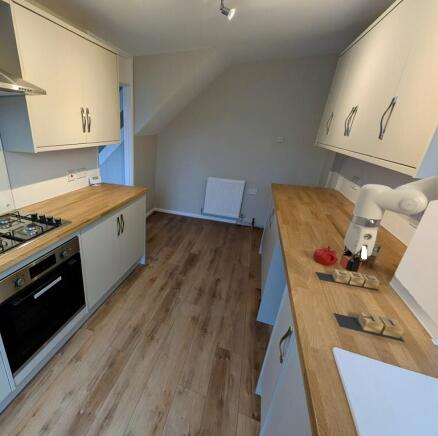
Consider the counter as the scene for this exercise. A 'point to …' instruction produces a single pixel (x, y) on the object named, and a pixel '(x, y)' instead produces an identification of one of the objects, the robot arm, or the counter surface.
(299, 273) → the counter surface
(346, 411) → the counter surface
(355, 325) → the word mat
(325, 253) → the pomegranate
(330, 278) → the word mat
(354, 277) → the wooden letter cube
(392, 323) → the tile
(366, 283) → the light wood cube
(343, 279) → the tile
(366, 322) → the tan wooden cube
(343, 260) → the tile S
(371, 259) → the food container
